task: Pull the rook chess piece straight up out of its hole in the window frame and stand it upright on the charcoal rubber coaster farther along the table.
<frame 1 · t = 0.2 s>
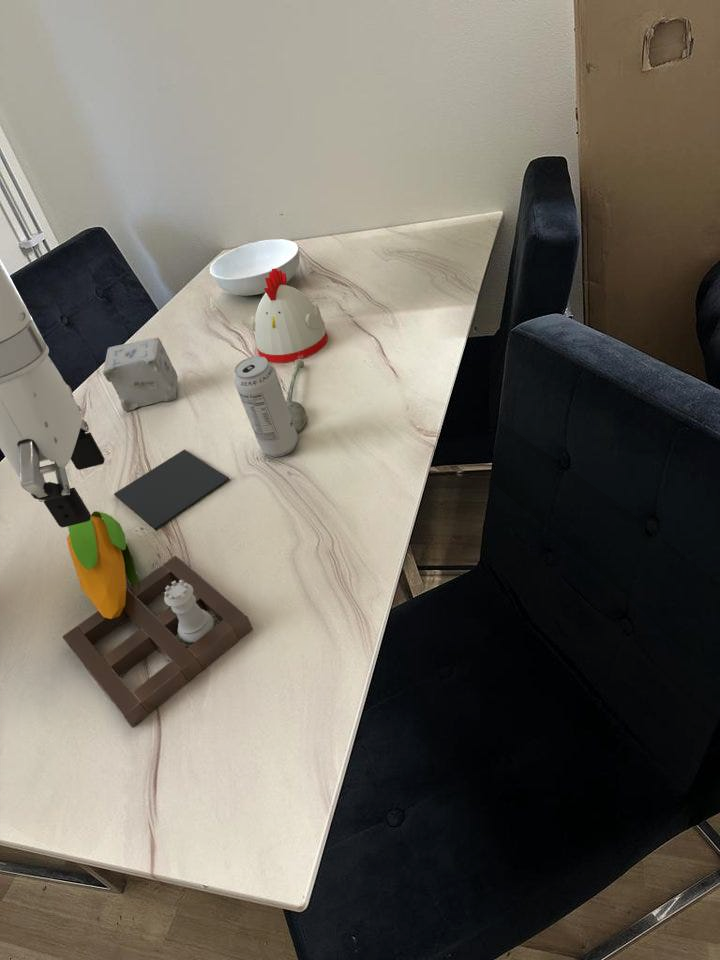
hand: (84, 492, 71), 18 cm above the table, tool pointing down, fingers open, 9 cm apart
corn: (115, 582, 86), on the table, touching window frame
kitchen timer: (293, 345, 129), on the table
window frame: (159, 638, 77), on the table
coaster: (171, 487, 100), on the table
soupspoon: (294, 400, 113), on the table, touching energy drink can
serving bowl: (262, 286, 155), on the table
rook chess piece: (200, 635, 77), resting in window frame
energy drink can: (280, 446, 103), on the table, touching soupspoon
grey block: (153, 399, 123), on the table
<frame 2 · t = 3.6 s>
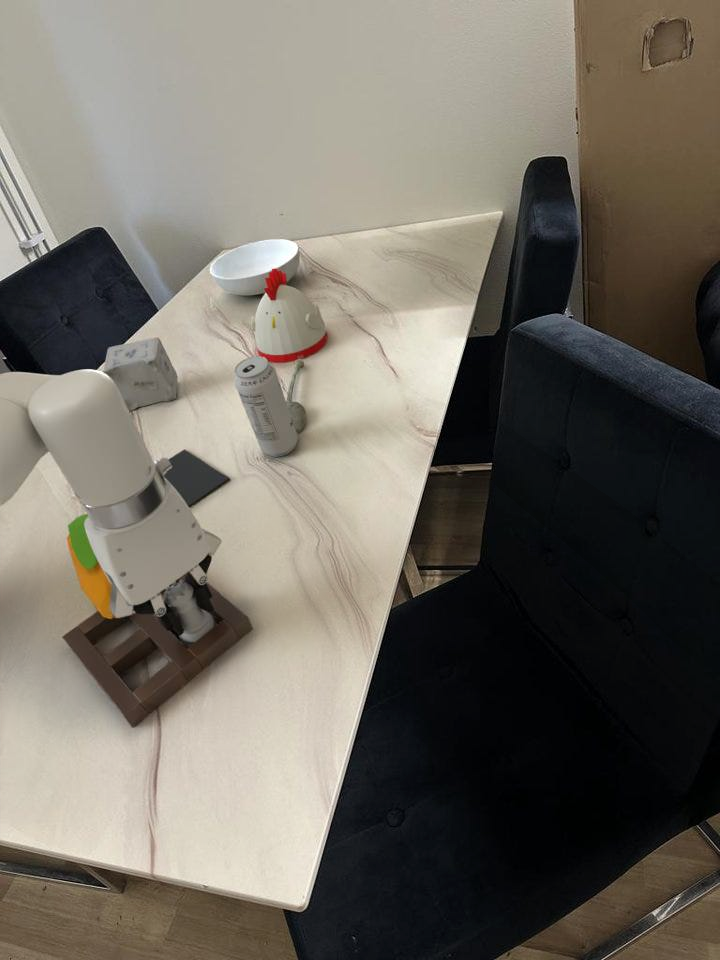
hand: (190, 615, 75), 3 cm above the table, tool pointing down, fingers closed on rook chess piece, 3 cm apart
rook chess piece: (200, 635, 77), resting in window frame, touching gripper
everything else where it was.
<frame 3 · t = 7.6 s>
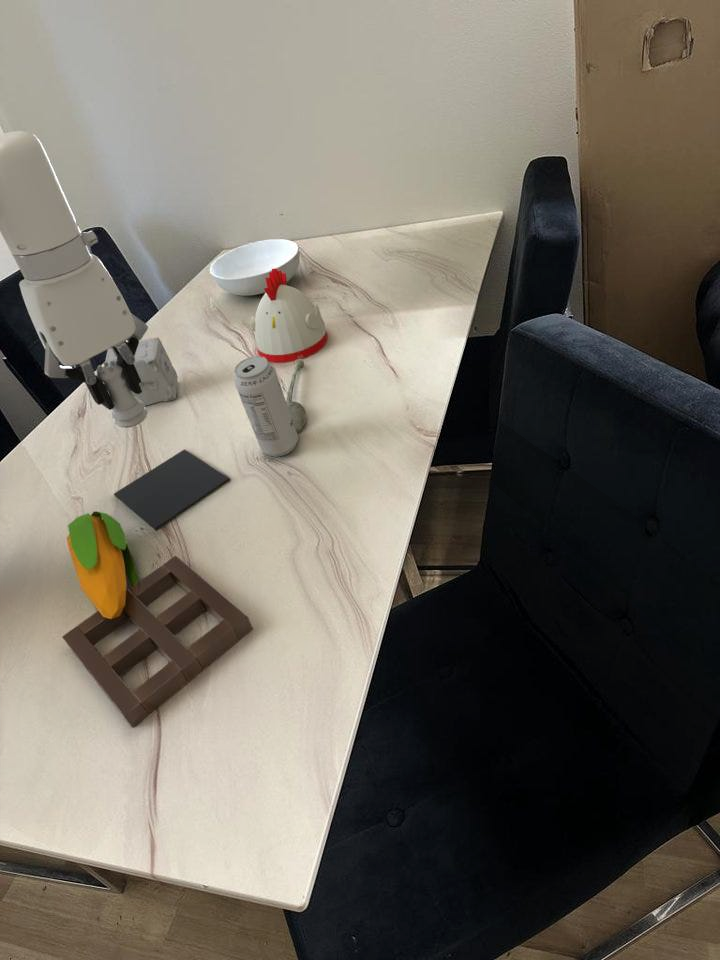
hand: (120, 396, 84), 19 cm above the table, tool pointing down, fingers closed on rook chess piece, 3 cm apart
rook chess piece: (133, 420, 87), point 15 cm above the table, touching gripper
everything else where it was.
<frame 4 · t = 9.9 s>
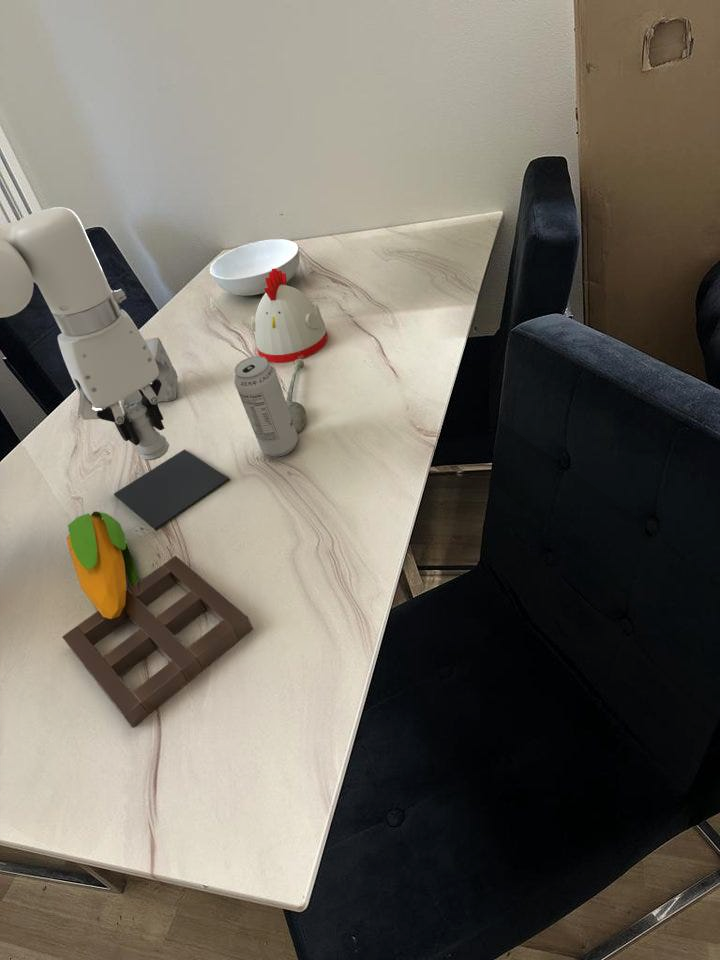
hand: (145, 433, 94), 10 cm above the table, tool pointing down, fingers closed on rook chess piece, 3 cm apart
rook chess piece: (156, 453, 96), point 7 cm above the table, touching gripper
everything else where it was.
when the fingers open (4 cm above the table, at t = 11.6 s): rook chess piece stays where it is, resting on coaster.
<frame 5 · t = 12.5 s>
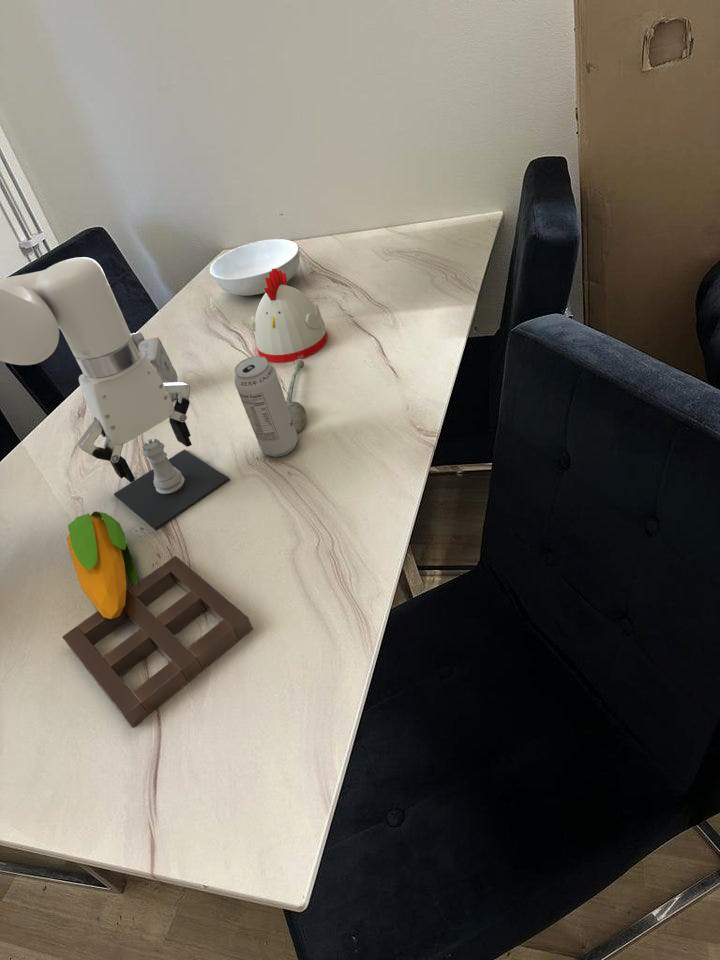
hand: (157, 460, 97), 5 cm above the table, tool pointing down, fingers open, 9 cm apart
rook chess piece: (171, 487, 100), resting on coaster
everything else where it was.
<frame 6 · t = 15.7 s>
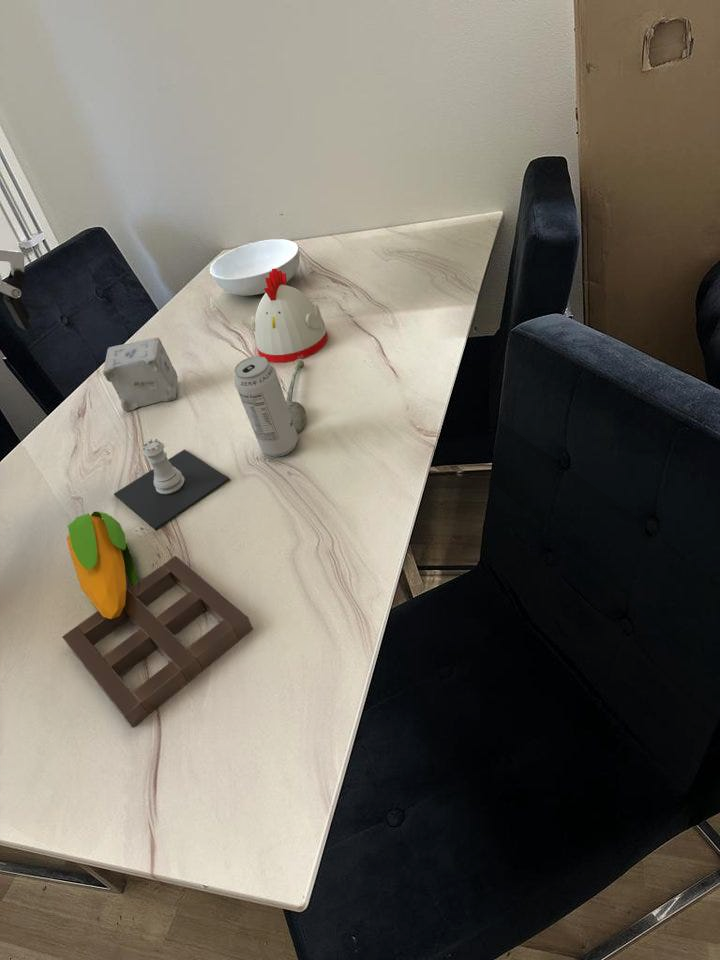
nothing on the table moved.
at the end: rook chess piece inside the target area on the coaster (0.2 cm from its centre), point 0.2 cm above the coaster's base; rook chess piece tilted 0°; rook chess piece touching coaster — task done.
